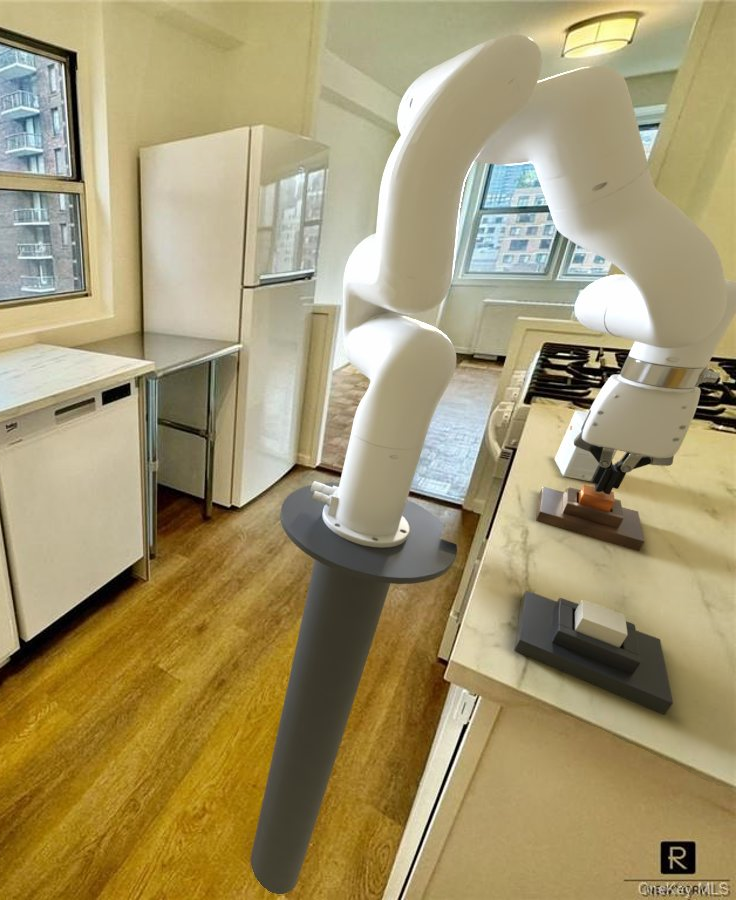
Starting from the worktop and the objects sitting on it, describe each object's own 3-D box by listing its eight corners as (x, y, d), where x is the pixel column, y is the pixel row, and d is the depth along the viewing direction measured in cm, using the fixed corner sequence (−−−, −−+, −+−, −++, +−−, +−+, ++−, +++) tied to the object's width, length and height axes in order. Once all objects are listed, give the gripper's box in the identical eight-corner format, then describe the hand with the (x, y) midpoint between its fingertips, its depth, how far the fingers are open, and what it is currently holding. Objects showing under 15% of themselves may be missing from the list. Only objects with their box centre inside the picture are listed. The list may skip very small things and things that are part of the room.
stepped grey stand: (514, 650, 53) (525, 627, 52) (520, 600, 60) (531, 578, 59) (664, 715, 47) (683, 690, 45) (652, 650, 54) (668, 627, 52)
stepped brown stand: (535, 520, 76) (544, 501, 75) (539, 494, 83) (546, 477, 82) (639, 551, 69) (651, 531, 68) (633, 520, 76) (643, 501, 75)
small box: (600, 484, 86) (628, 431, 82) (561, 476, 89) (585, 424, 84) (589, 466, 93) (614, 415, 88) (553, 459, 95) (575, 409, 90)
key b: (578, 504, 75) (583, 493, 74) (578, 495, 77) (583, 484, 76) (608, 513, 73) (615, 501, 72) (607, 503, 75) (613, 491, 74)
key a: (574, 631, 52) (582, 617, 51) (574, 612, 54) (581, 599, 54) (618, 649, 50) (627, 634, 49) (616, 628, 52) (625, 614, 52)
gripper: (734, 377, 64) (666, 495, 72) (587, 358, 72) (541, 465, 80) (748, 392, 59) (673, 517, 67) (588, 370, 67) (539, 483, 75)
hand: (601, 489), depth 74 cm, fingers closed
